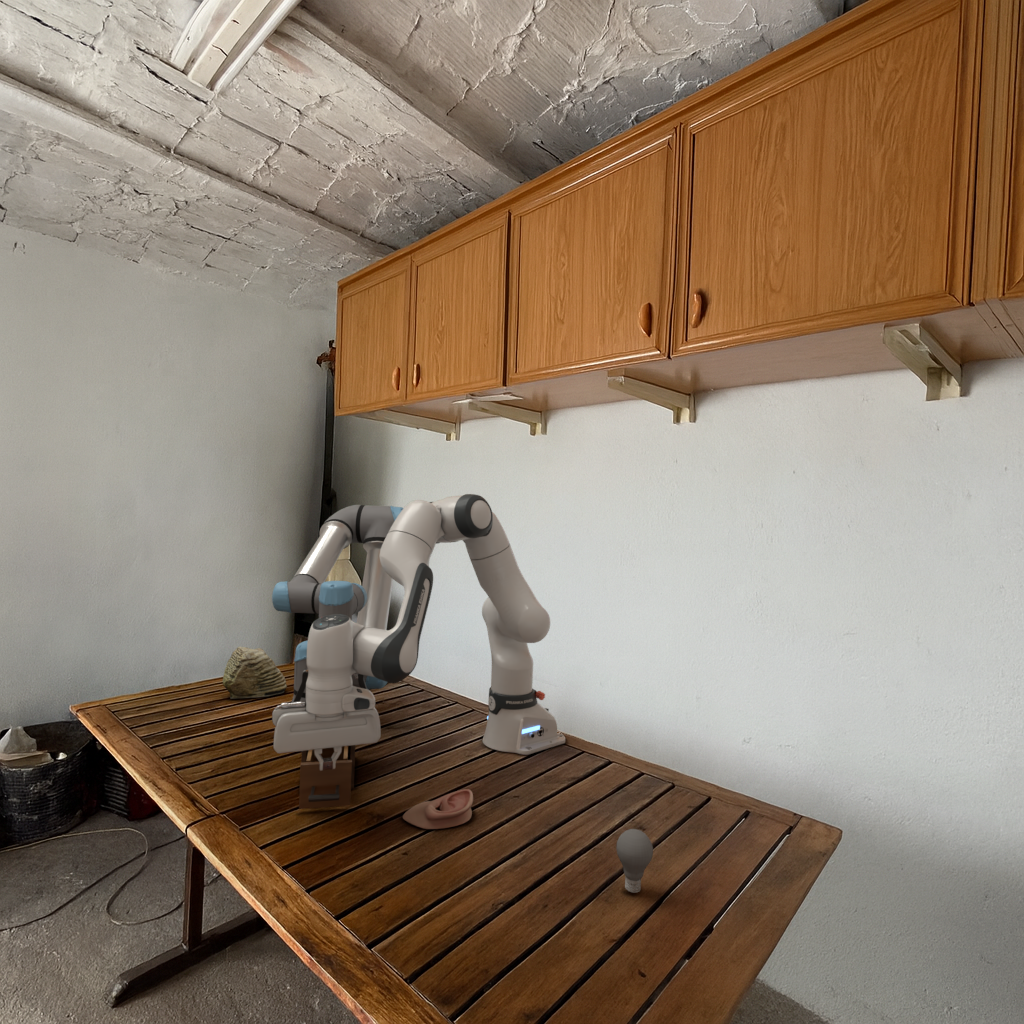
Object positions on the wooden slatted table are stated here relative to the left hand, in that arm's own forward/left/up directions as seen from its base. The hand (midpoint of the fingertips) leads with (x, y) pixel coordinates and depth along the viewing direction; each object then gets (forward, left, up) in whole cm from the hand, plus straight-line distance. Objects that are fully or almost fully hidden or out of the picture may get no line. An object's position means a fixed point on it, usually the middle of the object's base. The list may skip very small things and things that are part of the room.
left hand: (330, 741), depth 148 cm
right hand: (+15, +19, +4) cm, 24 cm away
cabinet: (+2, +3, -6) cm, 7 cm away
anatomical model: (-1, +35, -6) cm, 35 cm away
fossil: (-15, -61, -6) cm, 63 cm away
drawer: (+10, +13, -5) cm, 18 cm away
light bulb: (-6, +76, -6) cm, 76 cm away
